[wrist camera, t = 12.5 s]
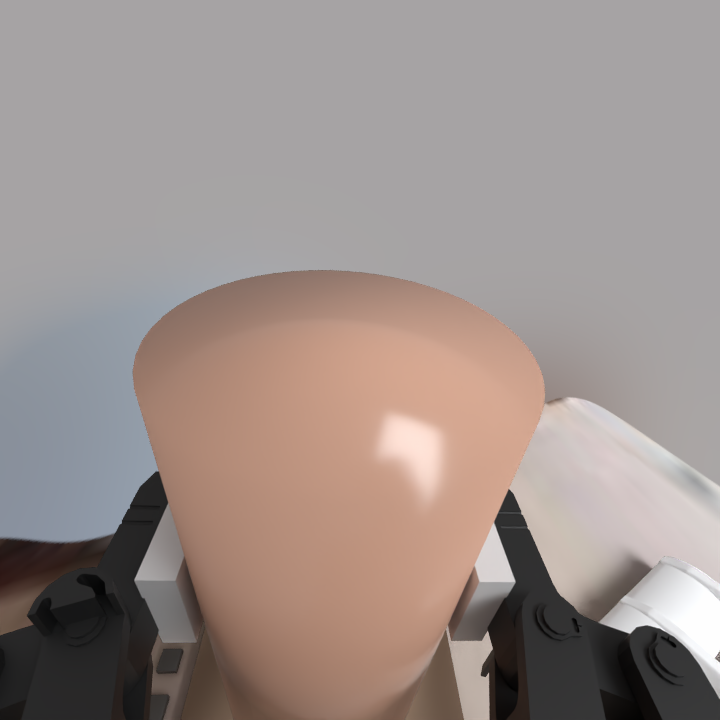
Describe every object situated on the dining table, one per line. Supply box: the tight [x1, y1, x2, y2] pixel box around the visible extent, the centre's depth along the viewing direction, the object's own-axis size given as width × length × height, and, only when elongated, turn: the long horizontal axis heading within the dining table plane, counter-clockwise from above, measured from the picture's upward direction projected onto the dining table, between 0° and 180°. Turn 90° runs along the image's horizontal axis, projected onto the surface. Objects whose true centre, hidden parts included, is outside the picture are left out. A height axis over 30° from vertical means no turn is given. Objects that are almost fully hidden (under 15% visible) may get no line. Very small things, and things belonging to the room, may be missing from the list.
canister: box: [133, 270, 545, 720], centre depth 10 cm, size 6×6×13 cm
